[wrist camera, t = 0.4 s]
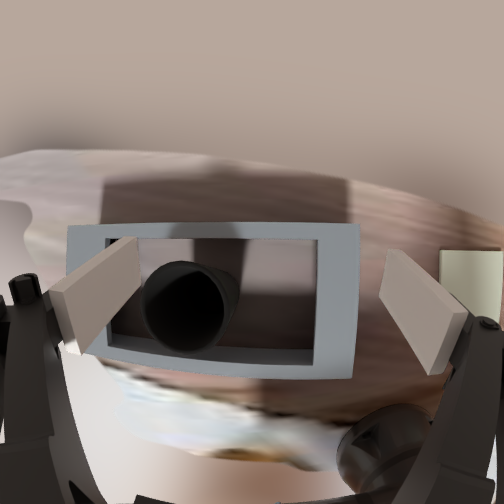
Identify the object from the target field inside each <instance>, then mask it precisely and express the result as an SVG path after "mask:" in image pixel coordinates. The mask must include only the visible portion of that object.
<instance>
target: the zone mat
mask: <svg viewBox="0 0 504 504" xmlns="http://www.w3.org/2000/svg"><path fill="white" fill-rule="evenodd" d="M502 282H503V252H502V251H461V250H439V284H440V285H441V286H442V287H443V288H445V289H446V290H447V291H448V292H449V293H451V294H453V295H454V296H455V297H456V298H457V299H458V301H460V302H461V303H462V304H463V305H464V306H465V307H466V308H467V309H468V310H469V311H470V312H471V313H472V314H473V315H474V316H475V317H477V316H485V317H489V318H491V319H493V320H494V321H496V322H497V323H498V324H499V318H500V309H501V298H502Z"/></svg>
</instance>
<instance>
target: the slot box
mask: <svg viewBox="0 0 504 504" xmlns="http://www.w3.org/2000/svg"><path fill="white" fill-rule="evenodd" d="M124 236H136V237H137V239H157V238H170V239H296V240H317V275H316V306H315V327H314V344H313V349H265V348H243V347H227V346H212V347H211V348H209V349H208V350H206V351H203V352H200V353H197V354H180V353H175V352H173V351H171V350H168V349H166V348H164V347H163V346H162V345H160V344H159V343H158V342H157V341H156V340H155V339H148V338H141V337H134V336H127V335H121V334H115V333H111V320H110V321H109V323H108V324H107V325H106V326H105V327H104V329H103V330H102V331H101V332H100V333H99V335H98V336H97V337H96V338H95V340H94V341H93V342H92V343H91V344H90V346H89V347H88V348H87V349H86V351H85V352H84V353H86V354H91V355H94V356H99V357H103V358H108V359H112V360H117V361H122V362H127V363H132V364H138V365H143V366H149V367H155V368H162V369H168V370H175V371H183V372H191V373H199V374H209V375H219V376H231V377H245V378H263V379H349V378H352V372H353V364H354V354H355V344H356V333H357V319H358V303H359V279H360V224H347V223H304V222H172V223H129V224H99V225H75V226H68V232H67V259H66V276H67V275H69V274H70V273H71V272H73V271H74V270H75V269H77V268H78V267H80V266H81V265H82V264H84V263H85V262H87V261H88V260H90V259H91V258H92V257H94V256H95V255H97V254H98V253H100V252H101V251H103V250H104V249H106V248H107V247H109V246H110V239H121V238H122V237H124Z"/></svg>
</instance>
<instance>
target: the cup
mask: <svg viewBox="0 0 504 504" xmlns="http://www.w3.org/2000/svg"><path fill="white" fill-rule="evenodd" d="M238 299H239V288H238V285H237V283H236V281H235V279H234V278H233V277H232V276H231V275H230V274H228V273H227V272H224V271H222V270H218V269H215V268H211V267H208V266H204V265H201V264H198V263H194V262H189V261H175V262H169V263H167V264H165V265H163V266H160V267H159V268H158V269H157V270H155V271H154V272H153V273H152V274H151V275H150V277H149V278H148V279H147V281H146V283H145V285H144V288H143V290H142V294H141V301H140V305H141V314H142V318H143V321H144V324H145V326H146V328H147V330H148V332H149V333H150V334H151V336H152V337H153V338H154V339H155V340H156V341H157V342H158V343H159V344H160V345H162V346H163V347H164V348H166V349H168V350H171V351H173V352H175V353H180V354H197V353H200V352H203V351H206V350H208V349H209V348H211V347H212V346H214V345H215V344H216V343H217V342H218V341H219V340H220V339H221V337H222V336H223V334H224V332H225V330H226V328H227V326H228V324H229V321H230V319H231V317H232V314H233V312H234V310H235V307H236V305H237V303H238Z"/></svg>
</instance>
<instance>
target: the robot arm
mask: <svg viewBox="0 0 504 504" xmlns="http://www.w3.org/2000/svg"><path fill="white" fill-rule="evenodd" d="M8 284H9V288H10V291H11V295H12V298H13V301H14V306H6V305H5V302H4V299H3V296H2V295H0V432H1V427H2V423H3V418H4V435H5V443H1V444H0V504H107V502H106V501H105V499H104V498H103V496H102V495H101V493H100V491H99V490H98V487H97V485H96V483H95V480H94V478H93V475H92V473H91V470H90V467H89V464H88V462H87V459H86V456H85V453H84V450H83V447H82V444H81V441H80V437H79V434H78V431H77V428H76V424H75V420H74V417H73V412H72V409H71V404H70V401H69V396H68V391H67V386H66V382H65V376H64V371H63V365H62V360H61V352H60V350H59V347H58V344H59V343H60V342H61V341H62V340H63V342H64V345H65V347H66V350H67V352H70V353H73V354H77V355H82V354H83V353H84V352H85V351H86V349H87V348H88V347H89V346H90V344H91V343H92V342H93V341H94V340H95V338H96V337H97V336H98V335H99V333H100V332H101V331H102V330H103V329H104V327H105V326H106V325H107V324H108V323H109V321H110V320H111V319H112V318H113V317H114V315H115V314H116V313H117V312H118V311H119V310H120V308H121V307H122V306H123V305H124V304H125V303H126V301H127V300H128V299H129V298H130V297H131V296H132V295H133V293H134V292H135V291H136V290H137V289H138V288H139V287H140V285H141V284H142V282H141V274H140V265H139V256H138V245H137V237H136V236H124V237H122V238H121V239H119V240H118V241H116V242H115V243H113V244H112V245H110V246H109V247H107V248H106V249H104V250H103V251H101V252H100V253H98V254H97V255H95V256H94V257H92V258H91V259H90V260H88V261H87V262H85V263H84V264H82V265H81V266H80V267H78V268H77V269H75V270H74V271H73V272H71V273H70V274H69V275H67V276H66V277H64V278H63V279H62V280H60V281H59V282H58V283H56V284H55V285H54V286H52V287H51V288H50V289H48V291H46V292H45V293H43V294H42V293H41V289H40V285H39V281H38V277H37V275H36V274H34V273H28V274H22V275H19V276H17V277H15V278H13V279H12V280H10V282H9V283H8ZM379 298H380V299H381V301H382V302H383V304H384V305H385V307H386V308H387V310H388V311H389V313H390V314H391V316H392V318H393V319H394V321H395V322H396V324H397V325H398V327H399V328H400V330H401V332H402V333H403V335H404V336H405V338H406V340H407V341H408V343H409V345H410V346H411V348H412V349H413V351H414V353H415V354H416V356H417V358H418V359H419V361H420V363H421V365H422V366H423V368H424V370H425V371H426V373H427V375H428V376H429V375H435V374H442V373H443V372H444V370H445V368H446V366H447V364H448V362H449V361H450V362H451V364H452V365H453V368H452V371H451V373H450V375H449V377H448V378H447V380H446V382H445V384H444V386H443V388H442V389H445V390H444V393H443V396H442V399H441V402H440V405H439V407H438V410H437V413H436V415H435V418H434V419H433V418H432V417H431V415H430V414H429V413H428V412H427V411H426V410H425V409H423V408H421V407H419V406H416V405H412V404H398V405H392V406H388V407H385V408H382V409H380V410H378V411H375V412H373V413H371V414H370V415H368V416H366V417H365V418H363V419H362V420H361V421H359V422H358V423H357V424H356V425H355V426H353V427H352V428H351V429H350V431H349V432H348V433H347V434H346V435H345V437H344V438H343V440H342V441H341V443H340V446H339V448H338V451H337V466H338V470H339V473H340V476H341V477H342V479H343V481H344V482H345V483H346V484H347V485H348V486H349V487H350V488H351V489H352V490H353V491H354V492H355V495H349V496H344V497H338V498H332V499H325V500H318V501H309V502H298V503H284V504H491V501H492V498H493V494H494V490H495V482H494V480H492V479H489V478H486V476H487V471H488V467H489V463H490V458H491V454H492V449H493V444H494V439H495V434H496V450H497V490H496V504H504V331H502V329H501V326H500V325H499V324H498V323H497V322H496V321H494V320H493V319H491V318H489V317H485V316H477V317H475V316H474V315H473V314H472V313H471V312H470V311H469V310H468V309H467V308H466V307H465V306H464V305H463V304H462V303H461V302H460V301H458V299H457V298H456V297H455V296H454V295H453V294H451V293H449V292H448V291H447V290H446V289H445V288H443V287H442V286H441V285H440V284H439V283H438V282H437V281H436V280H435V279H434V278H433V277H431V276H430V275H429V274H428V273H427V272H426V271H425V270H424V269H423V268H421V267H420V266H419V265H418V264H417V263H416V262H415V261H413V260H412V259H411V258H410V257H409V256H408V255H406V254H405V253H404V252H403V251H402V250H400V249H388V252H387V257H386V263H385V268H384V273H383V278H382V283H381V287H380V292H379ZM134 504H174V503H169V502H164V501H160V500H156V499H152V498H148V497H144V496H141V495H137V496H136V499H135V501H134ZM275 504H281V502H276V503H275Z"/></svg>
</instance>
